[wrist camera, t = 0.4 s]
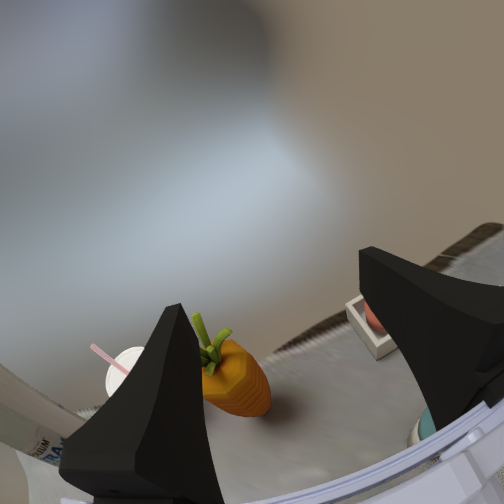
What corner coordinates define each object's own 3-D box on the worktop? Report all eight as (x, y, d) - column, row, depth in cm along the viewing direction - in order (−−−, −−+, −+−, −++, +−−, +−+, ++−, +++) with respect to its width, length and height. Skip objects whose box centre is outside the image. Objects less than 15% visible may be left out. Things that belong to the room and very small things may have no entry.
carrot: (252, 382, 29) (177, 297, 20) (295, 394, 27) (238, 309, 17) (232, 423, 26) (139, 357, 17) (276, 438, 24) (199, 383, 14)
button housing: (423, 329, 26) (426, 313, 24) (376, 360, 26) (376, 347, 24) (391, 293, 31) (391, 275, 29) (347, 319, 31) (345, 304, 29)
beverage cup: (214, 401, 29) (132, 334, 20) (180, 442, 26) (83, 393, 17) (179, 375, 33) (101, 306, 24) (148, 412, 30) (60, 354, 21)
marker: (456, 441, 17) (486, 421, 12) (419, 468, 17) (439, 460, 12) (435, 410, 20) (457, 380, 15) (399, 435, 20) (411, 414, 15)
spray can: (111, 491, 22) (-46, 426, 10) (101, 446, 27) (-35, 366, 15) (152, 480, 23) (-17, 409, 11) (138, 432, 28) (-5, 340, 16)
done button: (413, 317, 26) (415, 306, 24) (379, 340, 26) (379, 329, 24) (390, 291, 29) (390, 279, 28) (357, 311, 29) (356, 299, 28)
